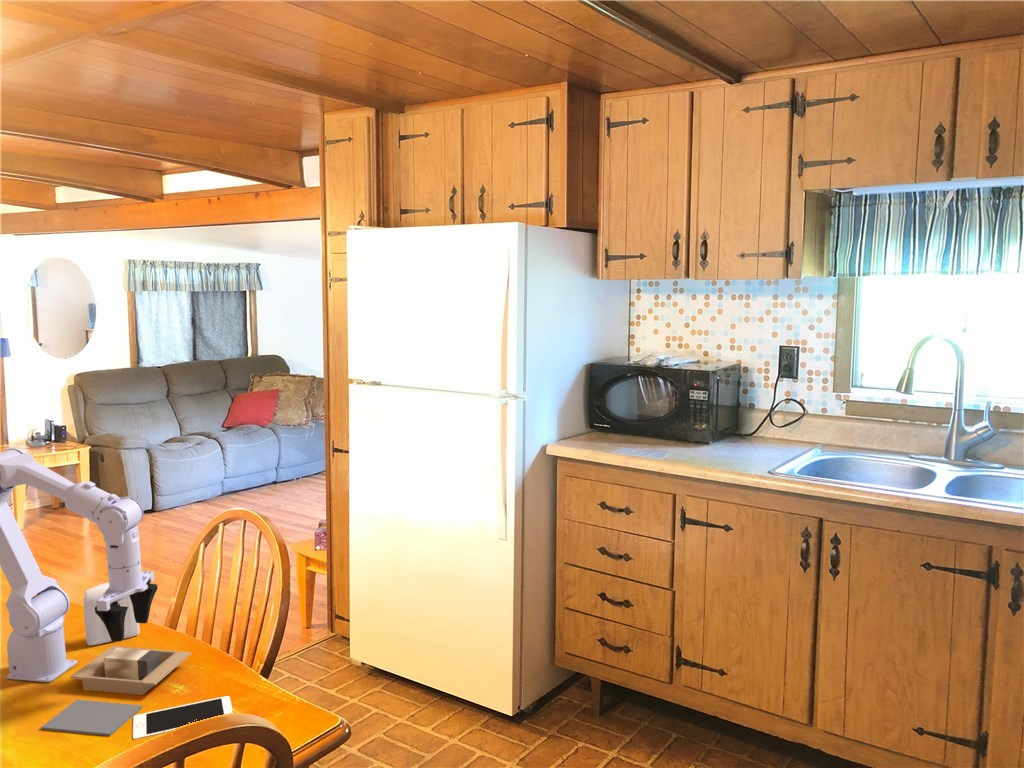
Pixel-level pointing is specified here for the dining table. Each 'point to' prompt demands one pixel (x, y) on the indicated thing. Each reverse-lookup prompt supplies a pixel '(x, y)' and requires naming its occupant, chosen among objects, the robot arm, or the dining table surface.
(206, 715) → the cell phone
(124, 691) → the tan rectangular frame
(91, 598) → the photo printer
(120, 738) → the dining table surface
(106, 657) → the box
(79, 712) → the mat
